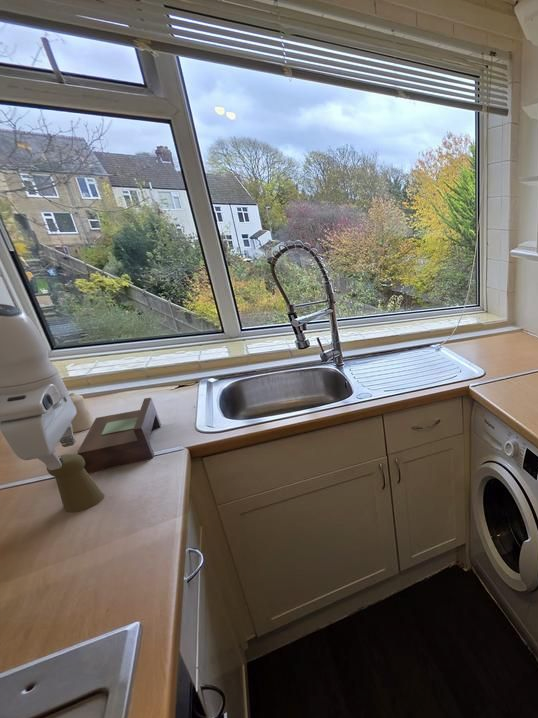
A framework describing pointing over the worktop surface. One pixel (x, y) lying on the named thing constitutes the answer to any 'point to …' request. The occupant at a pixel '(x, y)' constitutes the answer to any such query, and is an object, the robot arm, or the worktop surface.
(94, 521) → the worktop surface
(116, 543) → the worktop surface
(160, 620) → the worktop surface
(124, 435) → the brown block
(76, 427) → the candle
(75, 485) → the cork
